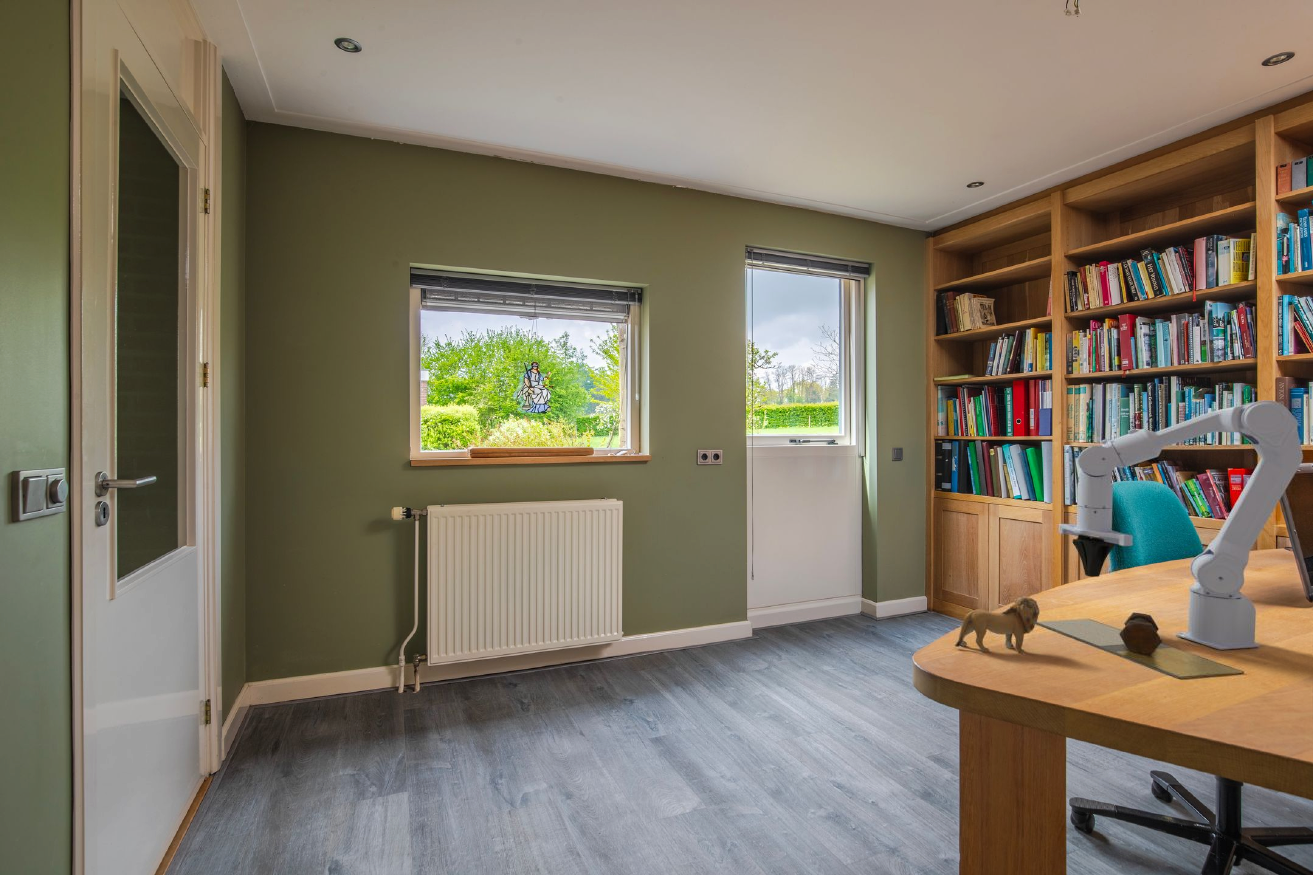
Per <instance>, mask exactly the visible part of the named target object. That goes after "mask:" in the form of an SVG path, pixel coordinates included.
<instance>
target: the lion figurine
mask: <svg viewBox="0 0 1313 875" xmlns="http://www.w3.org/2000/svg"><path fill="white" fill-rule="evenodd" d="M1039 615H1040V607H1039V605H1038V602H1037V600H1035V599H1034V598H1032V597H1029V596H1020V597H1018V598H1015V599H1014V603H1013V604H1012V605H1011V606H1009V608H1007V609H1006V610H1005V611H1002V612H993V611H988V610H985V609H978V608H977V609H974V610H971V611H969V612H968V613H967V614H966V616H964V619H963V621H962V624H961V628H960V631H959V635H958V641H957V642H955V644H954V646H955V647H957V648H959V647H960V646H962V647H966V646H967V645H968V643H967V641H965V640H964V639H965V637H966V636H968V635H970V634H971V633H973V632H975V635H976V637H975V638H976V639H975V644H976V645H977V646H978V648H979V650H980V651H981V652H983V653H990V649H989V648H988V647H985V645H984V643H983V640H984V638H985V636H986V633H987V631H989V632H990V633H993V634H996V635H1005V643H1004V645H1005V647H1006V648H1007V647H1008V648H1007V649H1014V648H1015V650H1016V652H1017V653H1018V652H1019V654H1021V653H1025V654H1026V651H1025V649H1022V648H1023V647H1022V646H1023V642H1024V637H1025V634H1030V633H1031V632H1033V631H1034V628H1035V626H1036V625H1037V624H1036V622H1038V620H1039ZM1013 636H1014V637H1015V646H1014V644H1013V642H1012V640H1013V639H1012V638H1013Z"/></svg>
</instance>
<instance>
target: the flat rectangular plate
mask: <svg viewBox="0 0 1313 875" xmlns="http://www.w3.org/2000/svg"><path fill="white" fill-rule="evenodd" d="M1035 625H1037V626H1039V627H1042V628H1045V629H1048V630H1051V631H1053V632H1055V633H1058V634H1061V635H1063V636H1066V637H1068V638H1071V639H1074V640H1077V641H1079V642H1082V643H1085V644H1087V645H1090V646H1092V647H1095V648H1098V649H1100V650H1102V651H1105V652H1107V653H1110V654H1114V655H1116V656H1118V657H1121V658H1124V659H1126V660H1128V661H1131V662H1133V663H1137V664H1139V665H1142V666H1144V667H1147V668H1148V669H1149V668H1150V669H1152V670H1155V671H1157V672H1159V673H1163V674H1166V675H1167V676H1170V677H1173V678H1175V679H1177V680H1178V679H1179V680H1180V679H1182V680H1183V679H1192V678H1205V677H1206V678H1207V677H1217V676H1229V675H1239V673H1241V674H1244V673H1245V671H1243V670H1240V669H1238V668H1235V667H1232V666H1230V665H1226V664H1223V663H1221V662H1217V661H1215V660H1212V659H1209V658H1205V657H1203V656H1199V655H1197V654H1194V653H1191V652H1188V651H1185V650H1183V649H1182V650H1181V649H1180V648H1176V647H1172V646H1170V645H1167V644H1165V643H1163V642H1161V644H1160V645H1159V646H1158V647H1157V648H1156V650H1155V651H1154V652H1153V653H1152V654H1151V655H1148V654H1141V653H1136V652H1132V651H1129V650H1128V648H1127V647H1126V645H1125V644H1124V642H1123V640H1122V638H1121V637H1120V635H1119V634H1120V632H1121V631H1122V630H1123V629H1120V628H1117V627H1115V626H1113V625H1112V626H1110V625H1108V624H1105V623H1104V622H1103V623H1102V622H1100V621H1097V620H1094V619H1091V618H1081V619H1080V618H1079V619H1078V618H1077V619H1063V620H1043V621H1037V622H1036V624H1035Z"/></svg>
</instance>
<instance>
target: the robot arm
mask: <svg viewBox="0 0 1313 875" xmlns="http://www.w3.org/2000/svg"><path fill="white" fill-rule="evenodd" d="M1298 424H1299V423H1298V420H1297V419H1296V417H1295V416H1294V415H1293V414H1292V413H1291V412H1290V410H1289V409H1288V408H1287V407H1286V406H1285V405H1284V404H1282V403H1280V402H1277V401H1274V400H1259V401H1258V400H1257V401H1256V402H1247V403H1244V404H1241V405H1236V406H1231V407H1226V408H1222V409H1217V410H1212V411H1210V412H1206V413H1204V414H1201V415H1199V416H1196V417H1193V418H1190V419H1188V420H1184V421H1182V422H1179V423H1177V424H1173V425H1170V426H1169V427H1166V428H1163V429H1160V430H1158V431H1152V430H1149V429H1146V428H1142V429H1139V430H1137V429H1136V428H1131V429H1129V430H1127V434H1124V435H1122V436H1117V437H1115V438H1112V439H1110V440H1107V439H1103V440H1100V441H1099V443H1100V445H1091V446H1088V447H1087V448H1084V449H1083V450H1082V451H1081V452H1080V454H1079V456H1078V459H1077V464H1078V466H1079V468H1080V470H1079V473H1078V480H1079V482H1077V497H1076V498H1077V502H1076V503H1077V504H1076V505H1077V506H1076V507H1077V508H1076V524H1071V523H1059V524H1058V534H1062V535H1063V534H1064V535H1070V536H1075V537H1077V538H1073V539H1072V544H1073V545H1074V547H1075V549H1076V551H1077V553H1078V554H1079V557H1080V560H1081V563H1082V567H1083V572H1084V575H1085V576H1086V577H1090V578H1095V577H1096V578H1099V577H1100V575H1101V573H1102V570H1103V567H1104V564H1105V561H1106V559H1107V558H1108V555H1109V554H1110V553H1111V552H1112V550H1113V549H1114V548H1115V545H1119V546H1120V547H1121V546H1122V547H1128V546H1129V547H1132V546H1133V539H1134V538H1133V537H1134V536H1133V535H1131V534H1126V533H1124V532H1123V533H1122V532H1119V531H1115V530H1112V528H1113V527H1112V525H1113V500H1114V499H1113V496H1114V495H1113V494H1114V493H1113V492H1114V490H1113V489H1114V485H1113V484H1112V476H1113V475H1112V474H1113V473H1112V472H1113V471H1114V470H1115V468H1119V469H1123V468H1124V469H1125V468H1127V467H1130V466H1133V465H1136V464H1139V463H1143V462H1145V461H1148V460H1149V461H1150V460H1151V459H1155V458H1158V457H1159V456H1160V454H1161V452H1162V450H1163V448H1165V447H1168V446H1171V445H1175V444H1178V443H1181V442H1185V441H1187V440H1191V439H1194V438H1198V437H1200V436H1205V435H1207V434H1211V433H1215V432H1218V433H1238V434H1240V435H1241V437H1243V438H1245V439H1246V440H1248V441H1249V442H1250V443H1251V445H1252V447H1253V449H1254V450H1255V451H1256V453H1257V454H1258V456H1259V459H1260V460H1259V461H1258V463H1257V465H1256V467H1255V468H1254V471H1253V473H1252V474H1251V475H1250V477H1249V479H1248V481H1247V483H1246V484H1245V486H1244V488H1243V490H1242V491H1241V493H1240V495H1239V497H1238V499H1237V500H1236V502H1235V503H1234V506H1233V507H1232V509H1231V511H1230V512H1229V515H1228V516H1227V518H1226V520H1225V521H1224V523H1223V524H1222V527H1221V529H1220V530H1219V532H1218V533H1217V535H1216V537H1215V538H1214V539H1213V540H1212V541H1211V542H1210V543H1208V545H1207V547H1206V549H1205V550H1204V551H1203V552H1202V553H1200V554H1198V555H1197V556H1195V557H1194V558H1193V559H1192V561H1191V563H1190V567H1189V568H1190V569H1189V570H1190V572H1191V573H1190V574H1191V575H1192V577H1193V578H1194V579H1195V580H1196V581H1195V582H1194V583H1193V584H1192V585H1190V586H1189V597H1188V598H1189V602H1188V624H1187V625H1188V627H1187V628H1188V629H1187V630H1188V631H1186V632H1185V631H1183V632H1176V633H1175V636H1176V637H1179V638H1182V639H1185V640H1189V641H1191V642H1194V643H1198V644H1200V645H1204V646H1207V647H1211V648H1214V649H1216V650H1221V651H1222V650H1233V649H1235V650H1236V649H1248V648H1260V647H1261V644H1260V643H1257V642H1255V639H1256V618H1257V617H1256V615H1257V611H1256V607H1255V605H1254V603H1253V602H1252V600H1251V599H1250V598H1249V597H1248V596H1246V595H1244V594H1243V593H1242V592H1241V589H1242V588H1243V587H1244V584H1245V575H1244V573H1245V569H1246V567H1247V565H1248V564H1249V560H1250V553H1251V549H1253V546H1254V544H1255V543H1256V541H1257V539H1258V538H1259V536H1260V534H1261V533H1262V530H1263V529H1264V527H1265V526H1266V524H1267V522H1268V521H1269V519H1270V517H1271V515H1272V514H1273V512H1274V510H1275V508H1276V507H1277V505H1278V503H1279V501H1280V500H1281V498H1282V496H1283V494H1284V493H1285V491H1286V490H1287V488H1288V486H1289V484H1290V483H1291V481H1292V479H1293V478H1294V476H1295V474H1296V473H1297V471H1298V469H1299V467H1300V466H1301V464H1302V462H1303V458H1304V455H1303V450H1302V445H1301V441H1300V436H1299V431H1298Z"/></svg>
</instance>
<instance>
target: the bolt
mask: <svg viewBox="0 0 1313 875" xmlns="http://www.w3.org/2000/svg"><path fill="white" fill-rule="evenodd" d="M1121 630H1122V631H1121V632H1120V634H1119V635H1120V637H1121V638H1122V640H1123V642H1124V644H1125V645H1126V647H1127V648H1128V650H1129V651H1132V652H1136V653H1141V654H1148V655H1151V654H1152V653H1153V652H1154V651H1155V650H1156V648H1157V647H1158V646H1159V645H1160V644H1161V643H1163V640H1162V637H1161V636H1160V635H1159V633H1158V631H1159V627H1158V625H1157V623H1156V622H1155V620H1154V618H1153V617H1152V616H1151V614H1146V613H1141V612H1132V613H1131V615H1130V616H1129V617H1128V618H1127V619H1126V620H1125V622H1124V627H1123V628H1122V629H1121Z"/></svg>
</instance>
